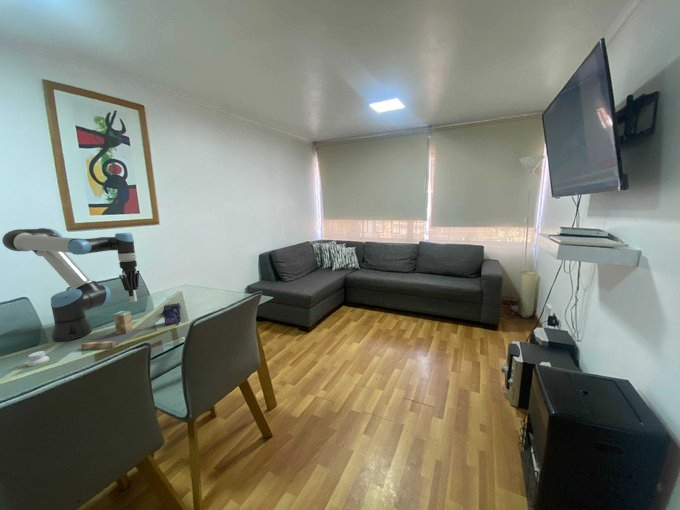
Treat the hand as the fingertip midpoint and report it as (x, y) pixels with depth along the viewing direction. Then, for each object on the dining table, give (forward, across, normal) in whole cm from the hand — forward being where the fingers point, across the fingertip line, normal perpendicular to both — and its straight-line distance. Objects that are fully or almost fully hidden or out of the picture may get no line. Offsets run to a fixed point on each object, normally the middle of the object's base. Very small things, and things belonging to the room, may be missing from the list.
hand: (133, 301), depth 152 cm
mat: (+15, -15, 0) cm, 21 cm away
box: (+15, +3, -19) cm, 24 cm away
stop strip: (+15, -26, 0) cm, 30 cm away
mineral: (+15, +13, -15) cm, 25 cm away
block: (+14, -9, 0) cm, 17 cm away
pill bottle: (+22, -38, +16) cm, 47 cm away
